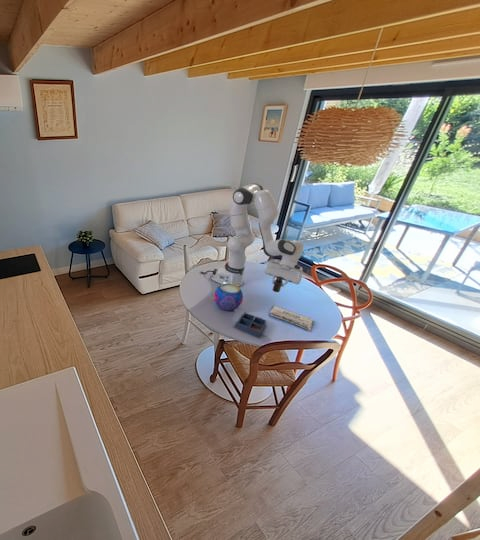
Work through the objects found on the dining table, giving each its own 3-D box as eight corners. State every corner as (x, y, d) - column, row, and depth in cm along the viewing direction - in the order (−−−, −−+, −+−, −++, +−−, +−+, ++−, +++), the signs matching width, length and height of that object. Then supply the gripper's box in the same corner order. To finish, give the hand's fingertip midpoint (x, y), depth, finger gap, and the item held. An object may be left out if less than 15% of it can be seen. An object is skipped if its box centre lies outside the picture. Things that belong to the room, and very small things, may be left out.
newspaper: (268, 315, 179) (269, 312, 178) (274, 308, 187) (275, 305, 186) (309, 331, 165) (310, 328, 164) (313, 323, 174) (314, 319, 173)
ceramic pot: (239, 301, 192) (244, 282, 185) (240, 317, 178) (245, 297, 170) (213, 296, 197) (216, 278, 190) (211, 312, 183) (215, 292, 175)
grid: (235, 327, 169) (236, 323, 168) (243, 316, 178) (244, 312, 177) (258, 337, 162) (260, 332, 160) (265, 325, 171) (267, 320, 169)
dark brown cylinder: (271, 290, 176) (275, 277, 171) (273, 288, 179) (277, 274, 174) (278, 293, 174) (283, 279, 169) (280, 290, 177) (284, 276, 172)
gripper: (269, 258, 179) (259, 277, 178) (305, 268, 167) (295, 289, 165) (270, 262, 184) (260, 280, 183) (305, 272, 172) (295, 292, 170)
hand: (277, 285), depth 174 cm, fingers closed on dark brown cylinder, 4 cm apart
